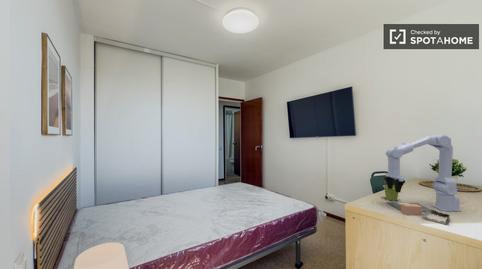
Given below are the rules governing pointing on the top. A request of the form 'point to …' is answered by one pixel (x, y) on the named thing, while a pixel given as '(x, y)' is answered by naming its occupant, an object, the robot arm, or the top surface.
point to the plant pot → (391, 193)
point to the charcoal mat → (398, 204)
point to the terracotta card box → (411, 209)
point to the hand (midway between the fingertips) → (393, 190)
